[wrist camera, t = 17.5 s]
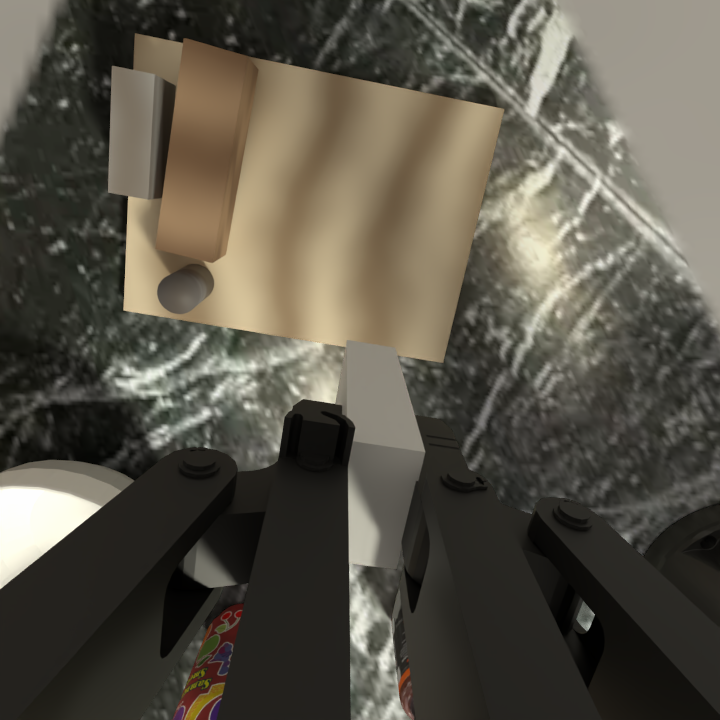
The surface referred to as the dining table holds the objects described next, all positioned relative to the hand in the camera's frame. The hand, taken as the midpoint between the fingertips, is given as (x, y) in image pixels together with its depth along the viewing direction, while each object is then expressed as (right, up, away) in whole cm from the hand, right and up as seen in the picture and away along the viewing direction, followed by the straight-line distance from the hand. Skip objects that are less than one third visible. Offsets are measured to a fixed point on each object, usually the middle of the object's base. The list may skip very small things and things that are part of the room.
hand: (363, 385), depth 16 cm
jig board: (-4, +11, +22) cm, 25 cm away
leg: (-10, +14, +19) cm, 26 cm away
